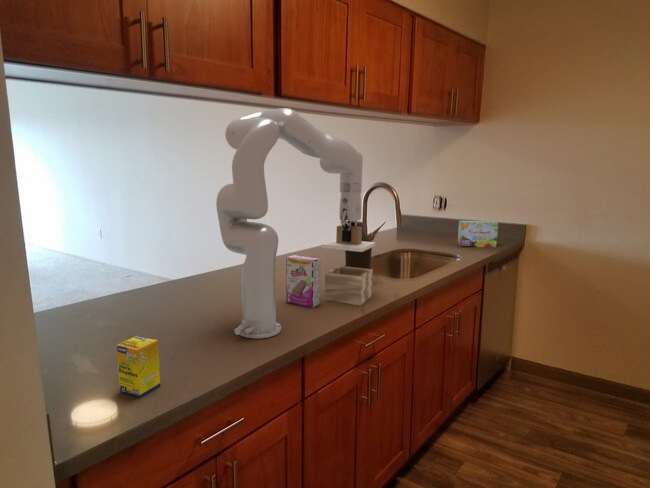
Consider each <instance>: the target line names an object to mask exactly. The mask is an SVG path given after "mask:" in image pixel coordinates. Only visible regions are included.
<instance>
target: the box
mask: <svg viewBox="0 0 650 488" xmlns="http://www.w3.org/2000/svg"><path fill="white" fill-rule="evenodd" d="M373 271H374V270H373V269H372V268H370V269H364V268H355V267H346V265H344V266H343V265H337V266H335V267H334V268H332V269H330V270H328V271H326V272H325V273H324V301H328V302H334V303H339V304H340V303H341V304H347V305H355V306H361V305H363V304H364V303H366V302H367V301H368V300H369V299H370V298H371V297H373V274H374V273H373Z"/></svg>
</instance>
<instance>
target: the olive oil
mask: <svg viewBox="0 0 650 488" xmlns="http://www.w3.org/2000/svg"><path fill="white" fill-rule="evenodd" d="M363 224H364V222H363V221H357V226H359V227H362V241H364V242H372V241H371V240H370V238H369V237H368V236H367V234H366V233H365V231H364V225H363ZM372 250H373V247H372V248H370V249H367V250H365V251H363V252H358V251H348V250H344V252H345V253H344V255H345V256H344V257H345V266H346V267H355V268H364V269H371V264H372V263H371V262H372V261H371V260H372Z"/></svg>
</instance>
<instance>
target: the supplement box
mask: <svg viewBox="0 0 650 488" xmlns="http://www.w3.org/2000/svg"><path fill="white" fill-rule="evenodd" d="M116 354H117V355H116V357H117V368H118V381H119V392H120V393H122V394H127V395H130V396H133V397H136V398H139V399H142V398H144V397H145V396H146V395H148V394H149V393H152V391H154V390H157V389H158V388H159V387H161V374H160V355H159V340H157V339H151V338H148V337H143V336H140V335H136V336H133V337H131V338H129V339H127V340H123V341H122V342H120V343H118V344H116Z"/></svg>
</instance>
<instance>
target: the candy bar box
mask: <svg viewBox="0 0 650 488" xmlns="http://www.w3.org/2000/svg"><path fill="white" fill-rule="evenodd" d="M285 264H286V265H285V268H286V270H285V271H286V274H285V275H286V276H285V277H286V280H285V281H286V285H285V287H286V301H285V302H286V303H289V304H293V305H297V306H302V307H306V308H311V309H313V308H315V307H317V306H319V305H320V303H321V295H320V294H321V290H320V289H321V259H320V258H317V257H316V258H315V257H309V256H303V255H296V254H292V255H289V256H286V258H285Z"/></svg>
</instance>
